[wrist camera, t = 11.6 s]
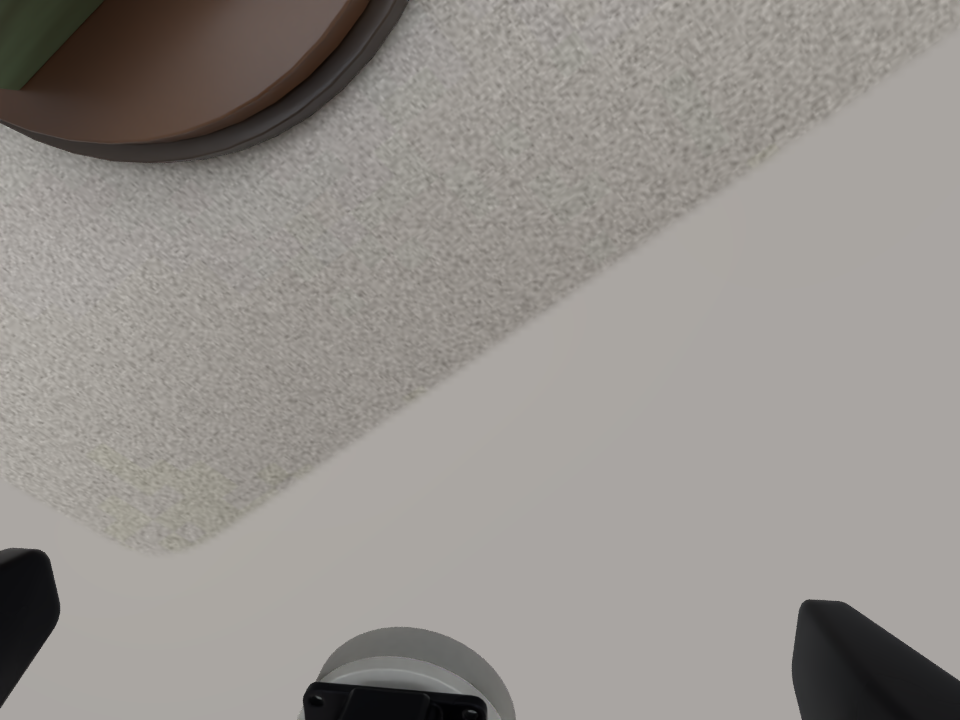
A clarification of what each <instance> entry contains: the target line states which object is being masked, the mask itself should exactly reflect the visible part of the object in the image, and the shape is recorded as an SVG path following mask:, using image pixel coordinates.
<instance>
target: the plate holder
mask: <svg viewBox="0 0 960 720" xmlns="http://www.w3.org/2000/svg"><path fill="white" fill-rule="evenodd" d="M369 1H370V0H0V120H2V121H5V122H8V123H10V124H13V125H15V126H18V127H21V128H23V129H26V130H28V131H31V132H35V133H39V134H44V135H48V136H52V137H56V138H61V139H65V140H69V141H78V142H89V143H101V144H122V145H136V144H153V143H170V142H175V141H179V140H184V139H189V138H194V137H198V136H203V135H207V134H210V133H212V132H215V131H218V130H220V129H223V128H226V127H228V126H231V125H234V124H236V123H239V122H241V121H243V120H245V119H247V118H249V117H250V116H252V115H254V114H256V113H258V112H259V111H261V110H263V109H265V108H266V107H268V106H270V105H272V104H274V103H275V102H277V101H278V100H279V99H281V98H282V97H283V96H284V95H286V94H287V93H288V92H290V91H291V90H292V89H294V88H295V87H296V86H297V85H299V84H300V83H301V82H303V81H304V80H305V79H306V78H308V77H309V76H310V75H311V74H312V73H313V72H314V71H315V69H316V68H317V67H318V66H319V65H320V64H321V63H322V62H323V61H324V60H325V59H326V58H327V57H328V56H329V55H330V54H331V53H332V52H333V51H334V50H335V49H336V48H337V47H338V45H339V44H340V43H341V41H342V40H343V39H344V37H345V36H346V35H347V33H348V32H349V31H350V29H351V28H352V26H353V25H354V24H355V22H356V21H357V20H358V18H359V17H360V16H361V14H362V13H363V11H364V10H365V8H366V6H367V5H368V3H369Z"/></svg>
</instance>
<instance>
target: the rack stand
mask: <svg viewBox="0 0 960 720" xmlns="http://www.w3.org/2000/svg"><path fill="white" fill-rule="evenodd" d="M408 1H409V0H370V1H369V3H368V5H367V6H366V8H365V10H364V11H363V13H362V14H361V16H360V17H359V18H358V20H357V21H356V22H355V24H354V25H353V26H352V28H351V29H350V31H349V32H348V33H347V35H346V36H345V37H344V39H343V40H342V41H341V43H340V44H339V45H338V47H337V48H336V49H335V50H334V51H333V52H332V53H331V54H330V55H329V56H328V57H327V58H326V59H325V60H324V61H323V62H322V63H321V64H320V65H319V66H318V67H317V68H316V69H315V71H314V72H313V73H312V74H311V75H310V76H309V77H308V78H306V79H305V80H304V81H303V82H301V83H300V84H299V85H297V86H296V87H295V88H294V89H292V90H291V91H290V92H288V93H287V94H286V95H284V96H283V97H282V98H281V99H279V100H278V101H277V102H275V103H274V104H272V105H270V106H268V107H266V108H265V109H263V110H261V111H259V112H258V113H256V114H254V115H252V116H250V117H249V118H247V119H245V120H243V121H241V122H239V123H236V124H234V125H231V126H228V127H226V128H223V129H220V130H218V131H215V132H212V133H210V134H207V135H203V136H198V137H194V138H189V139H184V140H179V141H175V142H170V143H153V144H136V145H122V144H101V143H89V142H78V141H69V140H65V139H61V138H56V137H52V136H48V135H44V134H39V133H35V132H31V131H28V130H26V129H23V128H21V127H18V126H15V125H13V124H10V123H8V122H5V121H2V120H0V123H2V124H4V125H6V126H8V127H10V128H12V129H14V130H16V131H18V132H20V133H22V134H24V135H26V136H28V137H30V138H32V139H34V140H36V141H39V142H42V143H45V144H48V145H51V146H53V147H56V148H59V149H62V150H65V151H68V152H71V153H74V154H79V155H84V156H89V157H94V158H99V159H104V160H109V161H118V162H137V163H172V162H183V161H194V160H204V159H209V158H213V157H217V156H221V155H225V154H229V153H233V152H237V151H241V150H244V149H246V148H249V147H251V146H254V145H256V144H258V143H261V142H263V141H266V140H268V139H270V138H273V137H275V136H278V135H279V134H281V133H282V132H284V131H286V130H287V129H289V128H291V127H292V126H294V125H296V124H297V123H299V122H301V121H302V120H304V119H306V118H307V117H309V116H311V115H312V114H313V113H314V112H316V111H317V110H318V109H319V108H321V107H322V106H323V105H324V104H325V103H327V102H328V101H329V100H330V99H332V98H333V97H334V96H335V95H336V94H338V93H339V92H340V91H341V90H343V89H344V87H345V86H346V85H347V84H348V83H349V82H350V81H351V80H352V79H353V78H354V77H355V76H356V74H357V73H358V72H359V71H360V70H361V69H362V68H363V67H364V66H365V65H366V64H367V63H368V61H369V60H370V59H371V58H372V57H373V56H374V54H375V53H376V51H377V50H378V48H379V47H380V46H381V44H382V43H383V41H384V40H385V39H386V37H387V36H388V34H389V33H390V31H391V30H392V29H393V27H394V26H395V24H396V23H397V21H398V20H399V18H400V16H401V14H402V12H403V11H404V9H405V7H406V5H407V3H408Z"/></svg>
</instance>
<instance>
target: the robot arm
mask: <svg viewBox="0 0 960 720" xmlns="http://www.w3.org/2000/svg"><path fill="white" fill-rule="evenodd" d="M59 615H60V602H59V597H58V593H57V588H56V584H55V580H54V575H53V571H52V567H51V562H50V559H49V557H48V556H47V555H46V553H45V552H43V551H41V550H38V549H24V548H9V549H5V550H2V551H0V708H1V706H2V705H3V704H4V702H5V701H6V699H7V698H8V696H9V695H10V693H11V692H12V690H13V689H14V687H15V686H16V684H17V683H18V681H19V680H20V678H21V677H22V675H23V674H24V672H25V671H26V669H27V668H28V666H29V665H30V663H31V662H32V661H33V659H34V657H35V656H36V654H37V653H38V652H39V650H40V649H41V647H42V646H43V644H44V643H45V641H46V640H47V638H48V637H49V635H50V634H51V632H52V631H53V629H54V628H55V626H56V624H57V621H58V619H59ZM792 678H793V685H794V689H795V694H796V697H797V702H798V706H799V710H800V714H801V718H802V720H960V681H959V680H958V679H956V678H955V677H953V676H951V675H950V674H949V673H947V672H946V671H944V670H943V669H942V668H940V667H939V666H937V665H936V664H934V663H933V662H931V661H930V660H928V659H927V658H925V657H924V656H923V655H921V654H920V653H918V652H917V651H915V650H913V649H912V648H911V647H909V646H908V645H906V644H905V643H904V642H902V641H900V640H899V639H898V638H896V637H895V636H893V635H892V634H890V633H889V632H887V631H886V630H885V629H883V628H882V627H880V626H879V625H877V624H876V623H874V622H873V621H871V620H870V619H868V618H867V617H866V616H864V615H863V614H861V613H860V612H858V611H857V610H855V609H854V608H852V607H851V606H849V605H848V604H846V603H844V602H840V601H826V600H810V599H809V600H806V601H804V602H803V603H802V605H801V607H800V609H799V614H798V622H797V629H796V636H795V643H794V651H793V659H792ZM316 696H318V697H320V698H321V699H318V698H317V697H316ZM303 705H304V714H305V720H488V712H487V705H486V703H485V702H484V700H483V699H481V698H480V697H477V696H473V695H463V694H452V693H441V692H429V691H418V690H407V689H395V688H384V687H372V686H361V685H350V684H338V683H327V682H314V683H312V684H310V686H309V687H308V689H307V690H306V692H305V694H304V696H303ZM468 710H473V711H475V712H477V713H471V712H469V711H468Z"/></svg>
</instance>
